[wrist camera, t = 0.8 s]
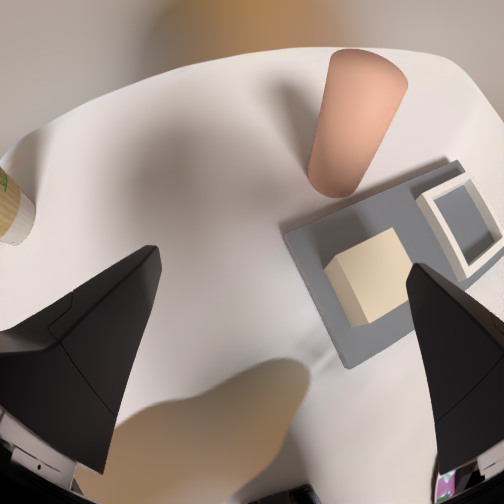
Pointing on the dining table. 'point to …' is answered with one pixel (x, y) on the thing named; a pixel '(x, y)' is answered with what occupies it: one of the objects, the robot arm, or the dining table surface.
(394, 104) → the pillar
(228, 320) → the dining table surface
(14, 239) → the coffee cup
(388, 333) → the base plate
